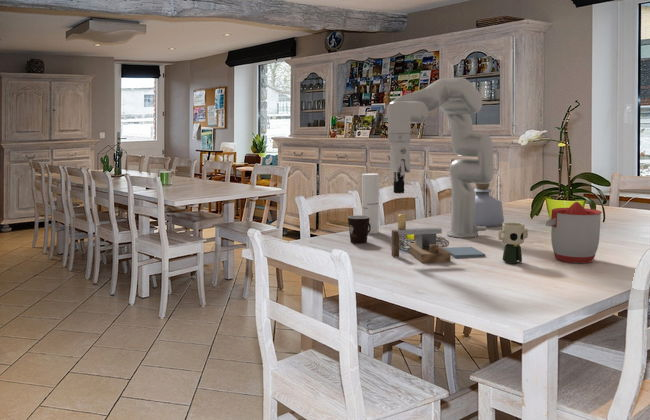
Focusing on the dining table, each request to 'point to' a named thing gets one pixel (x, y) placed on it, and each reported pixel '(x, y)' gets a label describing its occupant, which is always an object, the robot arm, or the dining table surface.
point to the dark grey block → (425, 240)
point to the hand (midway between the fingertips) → (398, 192)
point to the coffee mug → (359, 228)
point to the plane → (421, 251)
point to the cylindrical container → (371, 200)
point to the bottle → (487, 207)
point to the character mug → (512, 241)
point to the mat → (464, 252)
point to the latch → (404, 231)
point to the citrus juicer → (575, 233)
